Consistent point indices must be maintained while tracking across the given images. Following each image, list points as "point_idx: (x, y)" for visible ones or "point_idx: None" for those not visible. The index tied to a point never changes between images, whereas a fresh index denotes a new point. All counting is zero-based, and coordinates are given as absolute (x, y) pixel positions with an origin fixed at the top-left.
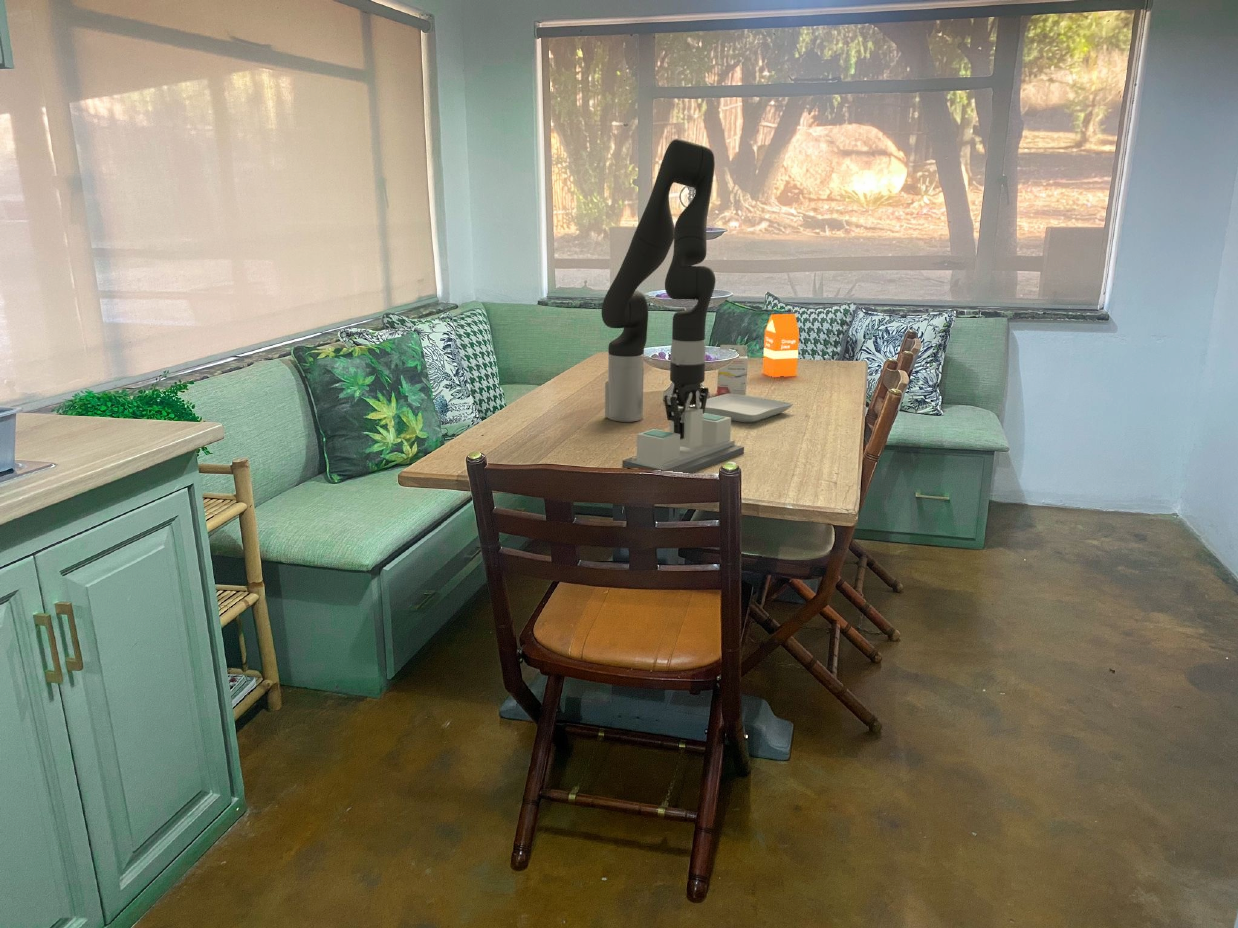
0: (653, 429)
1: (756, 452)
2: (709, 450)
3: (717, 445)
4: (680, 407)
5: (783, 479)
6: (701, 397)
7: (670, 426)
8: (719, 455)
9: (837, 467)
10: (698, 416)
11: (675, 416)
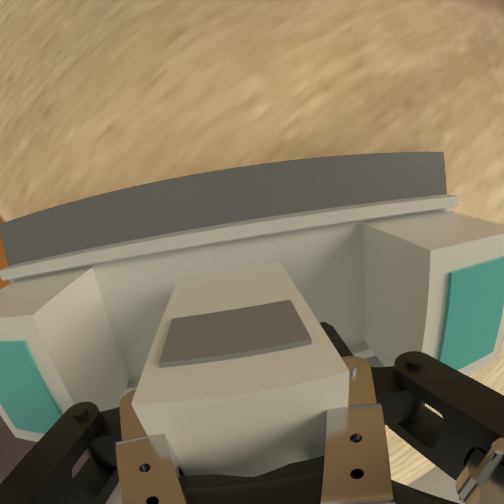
0: (25, 322)
1: None
2: None
3: (367, 352)
4: (265, 416)
5: None
6: (461, 465)
7: (161, 324)
8: None
9: (415, 472)
10: None
11: (86, 475)
